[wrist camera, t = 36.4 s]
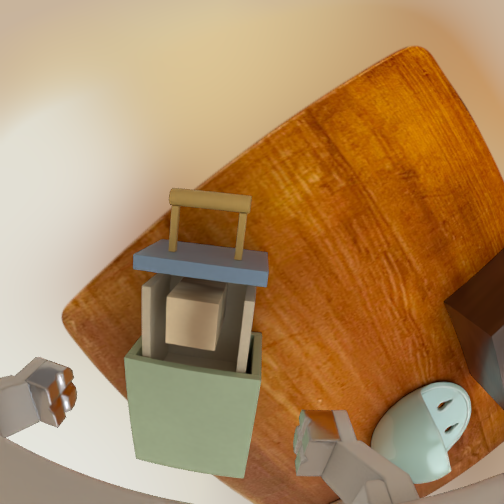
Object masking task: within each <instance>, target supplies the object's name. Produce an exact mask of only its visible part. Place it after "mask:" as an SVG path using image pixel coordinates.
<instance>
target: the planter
mask: <svg viewBox="0 0 504 504" xmlns="http://www.w3.org/2000/svg"><path fill="white" fill-rule="evenodd" d="M442 402H446V403H445V404H444V405H443V406H442V407H441V408H438V406H439V404H440V403H442ZM470 415H471V402H470V398H469V396H468V394H467V392H466V391H465V390H464V389H463V388H462V387H461V386H459V385H457V384H455V383H451V382H435V383H431V384H429V385H426V386H424V387H421V388H419V389H417V390H415V391H413V392H411V393H410V394H408V395H406V396H405V397H403V398H402V399H401V400H399V401H398V402H397V403H396V404H395V405H393V406H392V407H391V408H390V409H389V410H388V411H387V412H386V414H385V415H384V416H383V417H382V419H381V420H380V421H379V423H378V424H377V426H376V428H375V430H374V433H373V435H372V439H371V448H372V449H373V450H375V451H376V452H377V453H379V454H380V455H382V456H383V457H384V458H386V459H387V460H389V461H390V462H392V463H393V464H395V465H396V466H398V467H399V468H400V469H402V470H403V471H405V472H406V473H408V474H409V475H410V477H411V480H412V482H413V484H420V483H427V482H431V481H435V480H437V479H440V478H442V477H443V476H445V475H447V474H448V473H449V472H451V467H450V463H449V458H448V454H447V452H448V451H449V449H450V448H451V447H452V446H453V445H454V444H455V443H456V441H457V440H458V439H459V438H460V437H461V435H462V434H463V432H464V430H465V429H466V427H467V424H468V422H469V419H470ZM449 426H452V427H451V428H450V429H449V430H448V431H445V430H446V429H447V428H448V427H449Z"/></svg>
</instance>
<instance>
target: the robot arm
mask: <svg viewBox="0 0 504 504" xmlns="http://www.w3.org/2000/svg"><path fill="white" fill-rule="evenodd" d="M73 378H74V376H73V372H72V370H71V369H70V368H68V367H65V366H63V365H60V364H57V363H55V362H52V361H48V360H46V359H43V358H41V357H36V358H35V359H33V360H32V361H31V362H30V363H29V364H28V365H27V366H25V368H23V369H22V370H21V371H20V372H19V373H18V374H16V375H15V376H12V375H10V376H6V377H2V378H0V504H191V503H186V502H180V501H175V500H170V499H165V498H161V497H157V496H153V495H149V494H145V493H141V492H137V491H133V490H130V489H126V488H123V487H120V486H116V485H113V484H110V483H107V482H104V481H101V480H98V479H95V478H92V477H89V476H87V475H84V474H82V473H79V472H76V471H74V470H71V469H69V468H66V467H64V466H62V465H59V464H57V463H55V462H53V461H50V460H48V459H46V458H44V457H42V456H39V455H37V454H35V453H33V452H31V451H29V450H27V449H25V448H23V447H22V446H19V445H18V444H16V443H14V442H12V441H10V440H8V439H6V437H8V436H11V435H13V434H15V433H17V432H19V431H21V430H23V429H25V428H27V427H30V426H32V425H34V424H36V423H38V422H39V421H42V422H44V423H47V424H49V425H52V426H55V427H57V428H58V427H59V425H60V424H61V423H62V422H63V420H64V419H65V417H66V416H65V412H67V411H70V410H72V408H73V407H74V405H75V402H76V399H77V391H76V387H75V386H74V384H73V383H72V380H73ZM299 422H300V425H299V426H297V427H296V430H295V434H294V441H293V448H294V453H295V454H296V455H297V457H296V460H295V467H296V475H297V476H322V477H321V478H322V479H323V480H324V481H325V482H326V483H327V484H328V485H329V487H330V488H331V489H332V490H333V491H334V492H335V493H336V494H337V495H338V496H339V497H340V498H341V500H342V501H343V502H344V503H345V504H504V473H502V474H499V475H496V476H493V477H490V478H488V479H485V480H483V481H479V482H477V483H474V484H471V485H468V486H465V487H461V488H458V489H455V490H451V491H448V492H444V493H441V494H437V495H433V496H429V497H425V498H419V496H418V494H417V491H416V489H415V486H414V484H413V482H412V480H411V477H410V475H409V474H408V473H406V472H405V471H403V470H402V469H400V468H399V467H398V466H396V465H395V464H393V463H392V462H390V461H389V460H387V459H386V458H384V457H383V456H382V455H380V454H379V453H377V452H376V451H375V450H373V449H372V448H370V447H369V446H368V445H366V444H365V443H363V442H362V441H357V439H356V436H355V433H354V430H353V427H352V425H351V422H350V419H349V416H348V413H347V411H346V410H331V411H330V410H302V411H301V413H300V416H299Z"/></svg>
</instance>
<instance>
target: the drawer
mask: <svg viewBox="0 0 504 504" xmlns="http://www.w3.org/2000/svg"><path fill="white" fill-rule="evenodd" d="M251 201H252V196H247V195H238V194H229V193H220V192H211V191H201V190H190V189H179V188H172V189H171V191H170V195H169V203H170V205H172V210H171V222H170V235H169V240H164V239H161V240H159V241H158V242H156V243H154V244H152V245H150V246H148V247H146V248H144V249H143V250H141V251H139V252H137V253H135V254H134V255H133V269H136V270H143V271H149V272H156V273H157V274H155V275H154V276H153V277H152V278H151V279H150V280H148V281H147V282H146V283H145V284H144V285H142V357H147V358H152V359H157V360H162V361H167V362H173V363H178V364H184V365H190V366H196V367H202V368H208V369H215V370H222V371H229V372H237V373H246V366H247V359H248V351H249V344H250V336H251V329H252V321H253V314H254V306H255V296H256V286H260V287H267V280H268V273H269V271H268V253H267V252H261V251H253V250H245V249H243V246H244V238H245V229H246V221H247V213H250V209H251ZM180 206H186V207H195V208H205V209H214V210H223V211H232V212H240V213H239V221H238V230H237V239H236V248H229V247H221V246H213V245H204V244H196V243H188V242H180V241H178V229H179V217H180ZM183 277H191V278H198V279H205V280H213V281H220V282H228V291H227V301H226V311H225V318H224V321H223V325H222V328H221V331H220V335H219V338H218V342H217V345H216V348H215V351H211V350H204V349H198V348H192V347H186V346H180V345H175V344H169V343H166V342H165V337H166V301H167V296H168V295H169V293H170V292H171V291H172V290H173V289H174V288H175V286H176V285H177V284H178V283H179V282H180V281H181V280H182V278H183Z"/></svg>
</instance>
